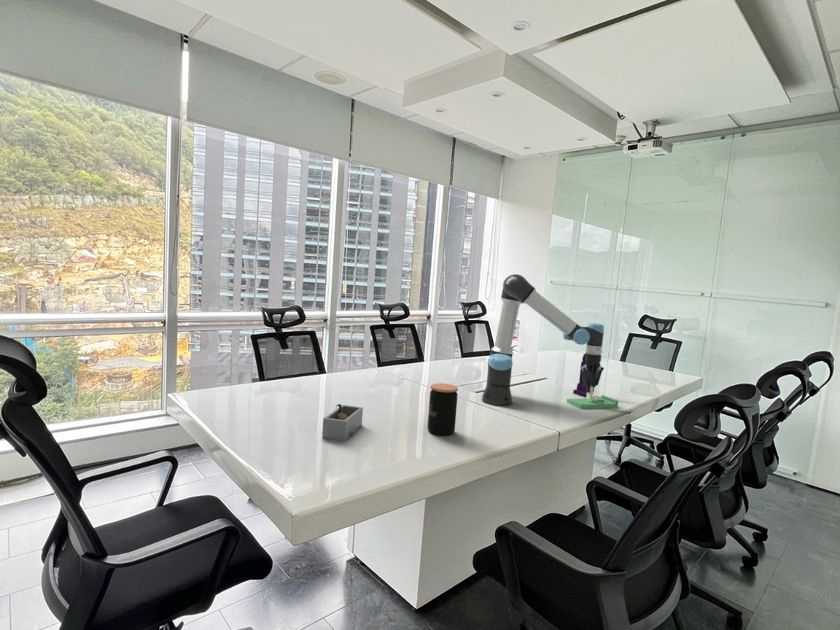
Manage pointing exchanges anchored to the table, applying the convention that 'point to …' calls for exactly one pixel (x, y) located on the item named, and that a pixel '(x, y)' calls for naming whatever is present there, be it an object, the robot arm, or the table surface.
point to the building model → (581, 381)
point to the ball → (594, 398)
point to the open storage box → (342, 423)
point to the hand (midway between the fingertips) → (589, 398)
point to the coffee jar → (442, 409)
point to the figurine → (342, 416)
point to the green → (594, 403)
